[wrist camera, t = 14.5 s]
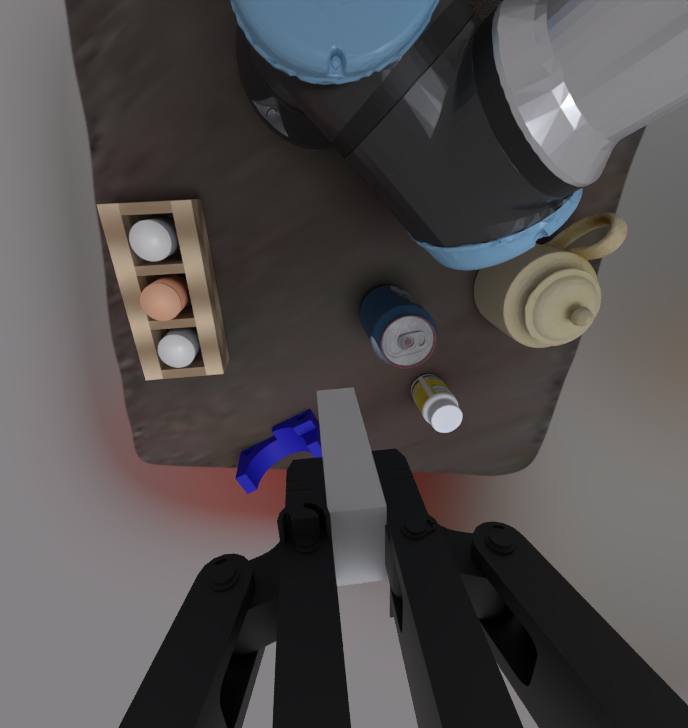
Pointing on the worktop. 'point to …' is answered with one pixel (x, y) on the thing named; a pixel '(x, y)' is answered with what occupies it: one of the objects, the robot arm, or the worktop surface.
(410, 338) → the soda can
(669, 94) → the robot arm
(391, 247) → the worktop surface
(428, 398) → the supplement bottle
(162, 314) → the plunger mid
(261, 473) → the cable clip
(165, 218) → the plunger
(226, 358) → the button block
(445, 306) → the worktop surface
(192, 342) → the plunger
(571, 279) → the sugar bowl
